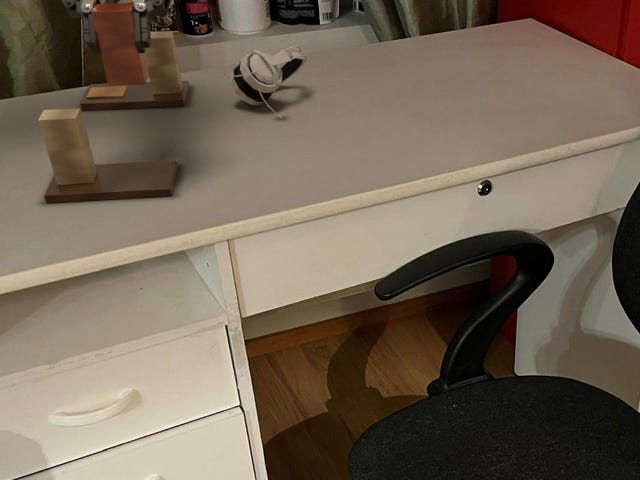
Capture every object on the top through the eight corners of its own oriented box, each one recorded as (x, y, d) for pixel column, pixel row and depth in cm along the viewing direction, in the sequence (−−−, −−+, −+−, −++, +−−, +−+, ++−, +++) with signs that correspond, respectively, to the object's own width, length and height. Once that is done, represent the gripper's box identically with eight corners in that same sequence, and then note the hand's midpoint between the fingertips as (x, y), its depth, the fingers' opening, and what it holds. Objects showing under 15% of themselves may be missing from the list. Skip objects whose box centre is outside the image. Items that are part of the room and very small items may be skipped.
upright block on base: (82, 110, 122) (65, 46, 117) (91, 90, 128) (76, 28, 123) (184, 106, 124) (172, 42, 119) (189, 86, 131) (178, 25, 125)
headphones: (184, 120, 119) (279, 82, 133) (240, 138, 115) (331, 97, 130) (176, 60, 114) (275, 28, 129) (234, 76, 110) (329, 41, 125)
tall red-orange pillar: (108, 85, 96) (90, 11, 91) (112, 76, 99) (95, 3, 94) (145, 84, 97) (130, 10, 92) (148, 75, 99) (134, 2, 94)
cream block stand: (46, 203, 100) (23, 128, 94) (60, 173, 106) (39, 102, 100) (171, 196, 102) (156, 122, 96) (178, 167, 108) (164, 97, 103)
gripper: (29, -118, 91) (36, 34, 89) (170, -118, 93) (179, 31, 91) (53, -73, 98) (60, 68, 96) (183, -74, 101) (192, 65, 99)
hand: (118, 49), depth 94 cm, fingers closed on tall red-orange pillar, 4 cm apart
